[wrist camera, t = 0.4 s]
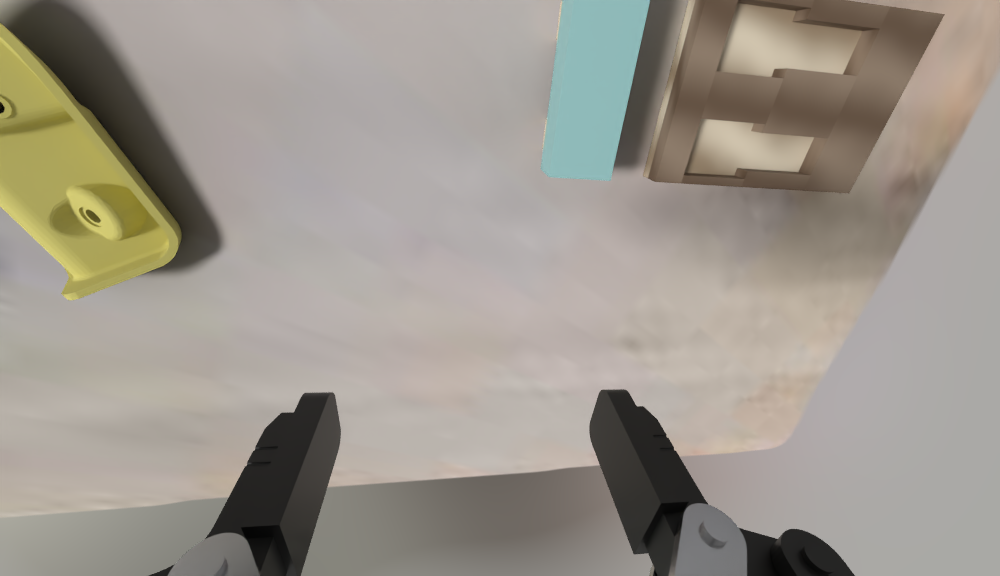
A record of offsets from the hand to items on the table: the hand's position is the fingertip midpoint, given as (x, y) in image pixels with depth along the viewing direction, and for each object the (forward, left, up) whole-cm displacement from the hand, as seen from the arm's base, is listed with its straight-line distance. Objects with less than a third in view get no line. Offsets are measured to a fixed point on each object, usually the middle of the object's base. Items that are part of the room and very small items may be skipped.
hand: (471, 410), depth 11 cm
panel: (-9, +9, -26) cm, 29 cm away
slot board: (-9, +27, -26) cm, 39 cm away
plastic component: (-1, -31, -26) cm, 40 cm away
